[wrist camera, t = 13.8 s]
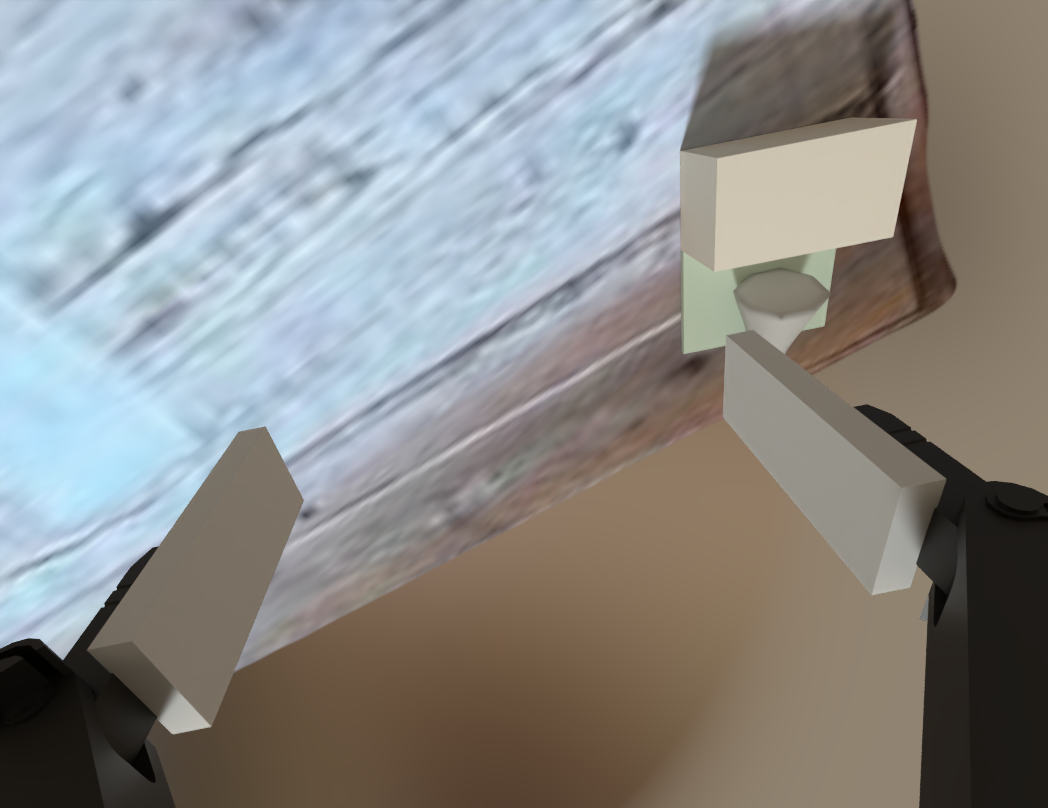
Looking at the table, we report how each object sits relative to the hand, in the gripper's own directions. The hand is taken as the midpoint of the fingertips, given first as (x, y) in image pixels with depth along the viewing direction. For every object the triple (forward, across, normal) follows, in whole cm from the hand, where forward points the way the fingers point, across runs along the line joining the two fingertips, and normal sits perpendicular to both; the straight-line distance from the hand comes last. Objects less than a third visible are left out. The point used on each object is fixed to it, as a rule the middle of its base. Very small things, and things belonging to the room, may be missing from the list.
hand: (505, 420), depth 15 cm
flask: (+28, +24, -10) cm, 38 cm away
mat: (+32, +24, -11) cm, 41 cm away
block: (+32, +24, -2) cm, 40 cm away
